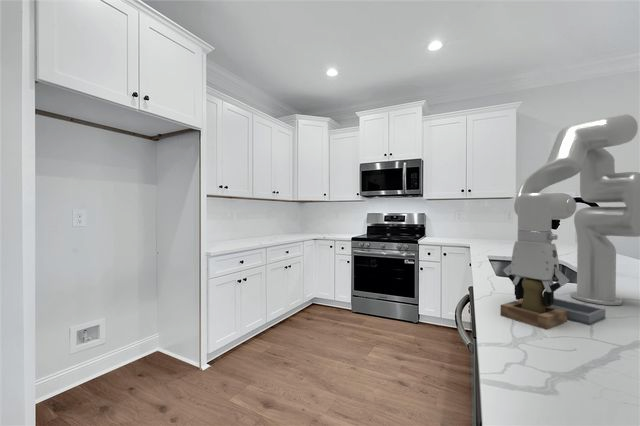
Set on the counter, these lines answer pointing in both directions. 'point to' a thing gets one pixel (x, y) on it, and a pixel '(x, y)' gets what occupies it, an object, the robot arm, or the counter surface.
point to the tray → (580, 312)
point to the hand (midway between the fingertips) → (533, 301)
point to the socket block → (534, 315)
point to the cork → (533, 295)
